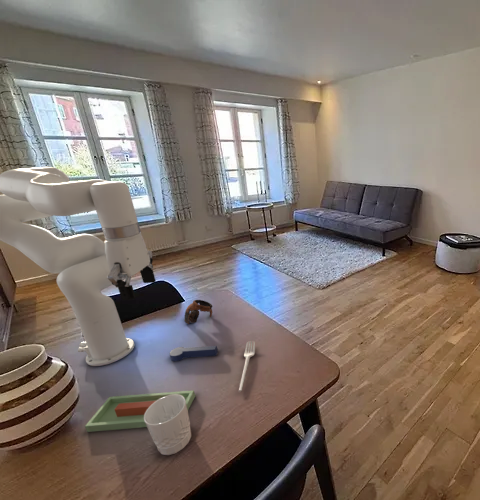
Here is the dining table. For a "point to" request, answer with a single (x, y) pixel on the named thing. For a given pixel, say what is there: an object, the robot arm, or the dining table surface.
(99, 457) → the dining table surface
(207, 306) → the orange headphones
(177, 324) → the dining table surface
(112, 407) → the tray
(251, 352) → the fork
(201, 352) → the blue spoon
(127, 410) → the terracotta spoon
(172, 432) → the white cup
